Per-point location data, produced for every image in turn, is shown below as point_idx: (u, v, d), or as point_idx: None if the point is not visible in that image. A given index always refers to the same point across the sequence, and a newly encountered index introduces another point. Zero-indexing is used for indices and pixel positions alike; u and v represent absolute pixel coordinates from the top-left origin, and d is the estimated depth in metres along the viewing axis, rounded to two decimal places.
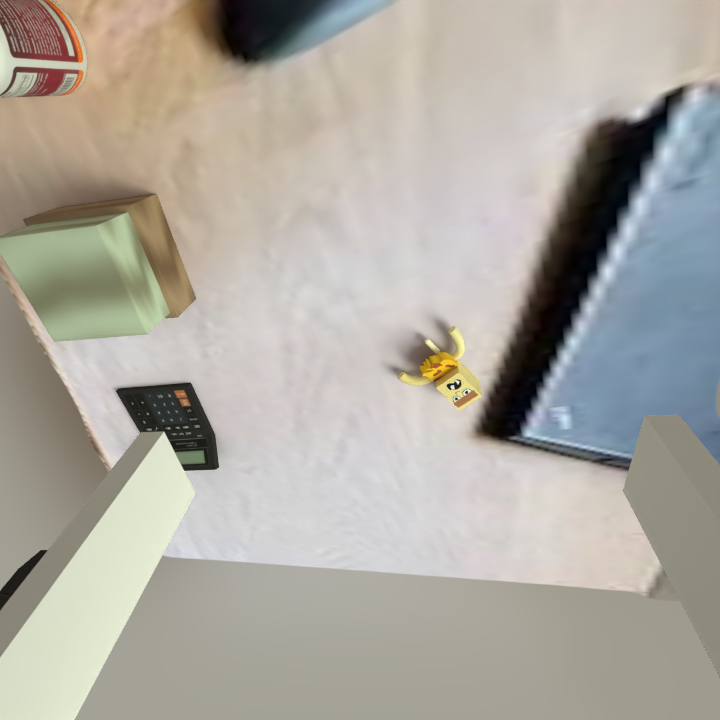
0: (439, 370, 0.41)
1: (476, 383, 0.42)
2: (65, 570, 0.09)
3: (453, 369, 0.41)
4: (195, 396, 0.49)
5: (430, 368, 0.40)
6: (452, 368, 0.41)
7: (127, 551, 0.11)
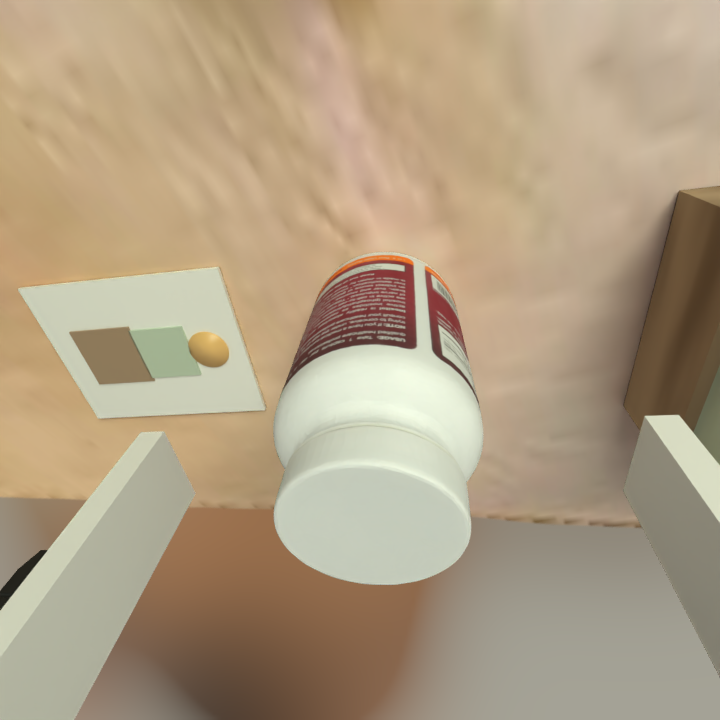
0: None
1: None
2: (65, 570, 0.09)
3: None
4: None
5: None
6: None
7: (127, 551, 0.11)
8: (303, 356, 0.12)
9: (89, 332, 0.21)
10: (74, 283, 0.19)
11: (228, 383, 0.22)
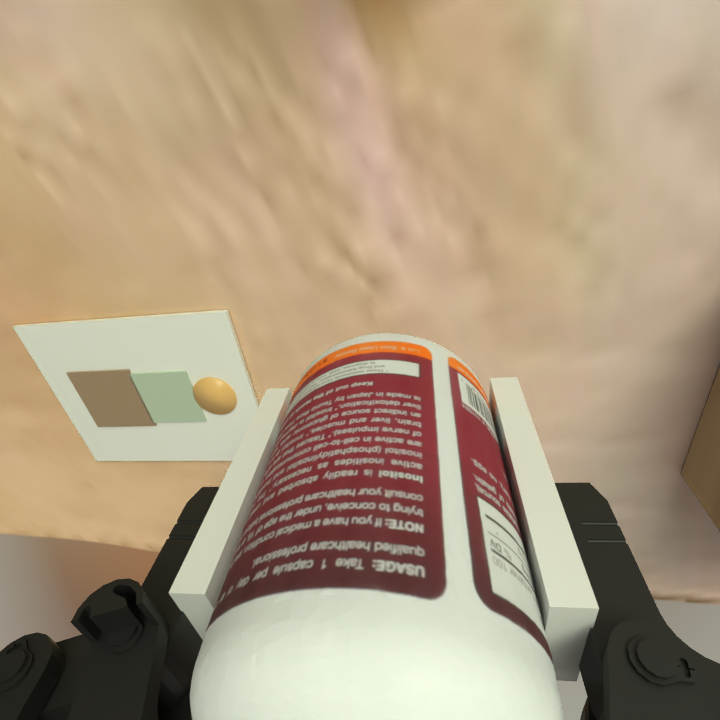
0: None
1: None
2: (246, 496, 0.10)
3: None
4: None
5: None
6: None
7: None
8: (245, 564, 0.07)
9: (87, 373, 0.19)
10: (72, 322, 0.18)
11: (235, 431, 0.20)
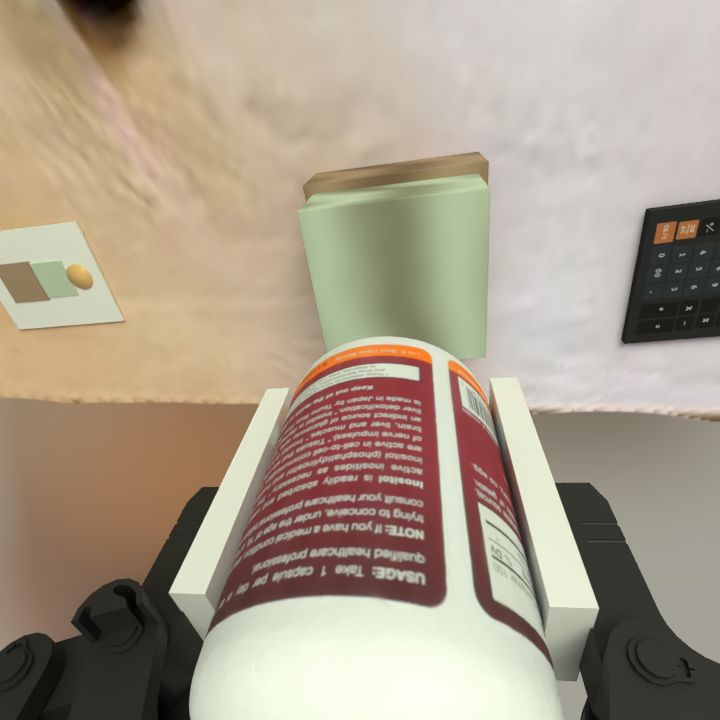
0: None
1: None
2: (246, 497, 0.10)
3: None
4: (680, 205, 0.25)
5: None
6: None
7: None
8: (245, 570, 0.07)
9: (5, 265, 0.33)
10: None
11: (96, 301, 0.34)
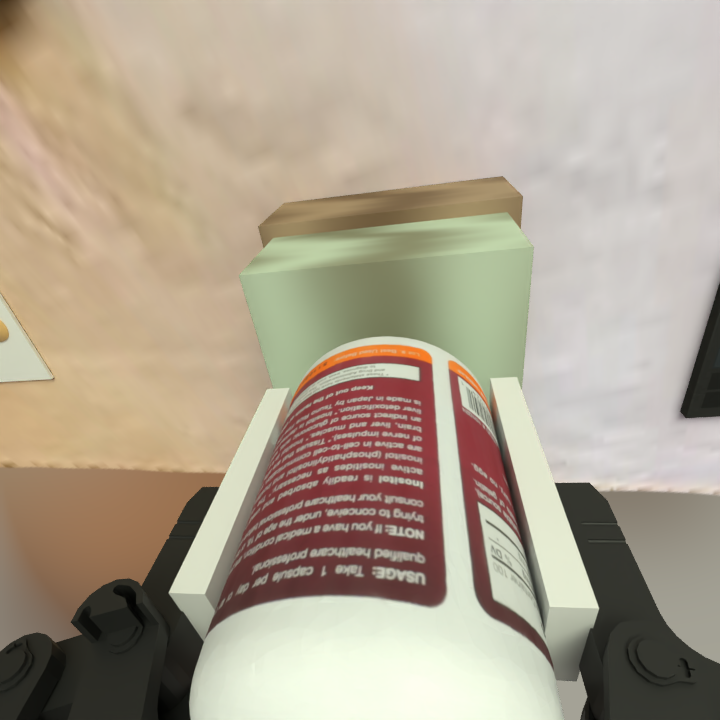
0: None
1: None
2: (246, 496, 0.10)
3: None
4: None
5: None
6: None
7: None
8: (245, 570, 0.07)
9: None
10: None
11: (16, 356, 0.27)
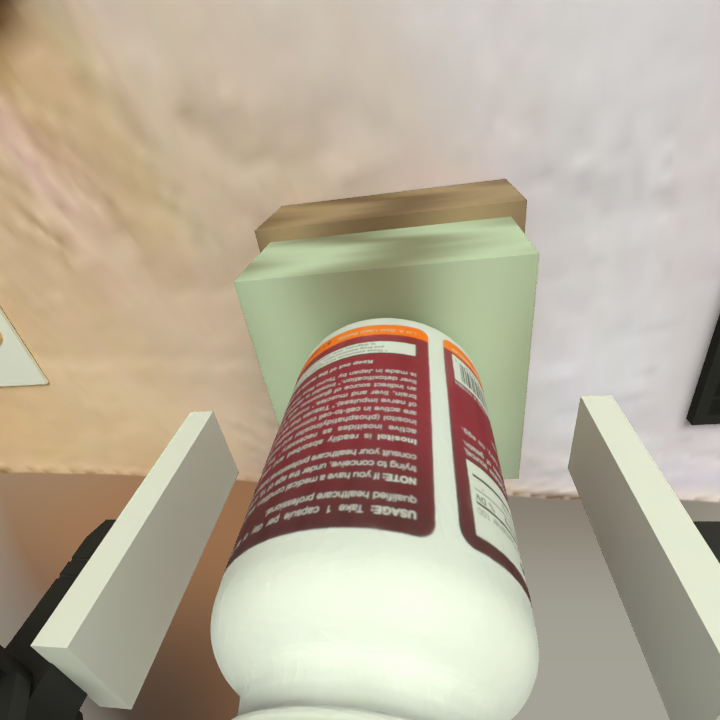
0: None
1: None
2: (138, 534, 0.09)
3: None
4: None
5: None
6: None
7: (186, 522, 0.11)
8: (259, 515, 0.08)
9: None
10: None
11: (10, 360, 0.26)
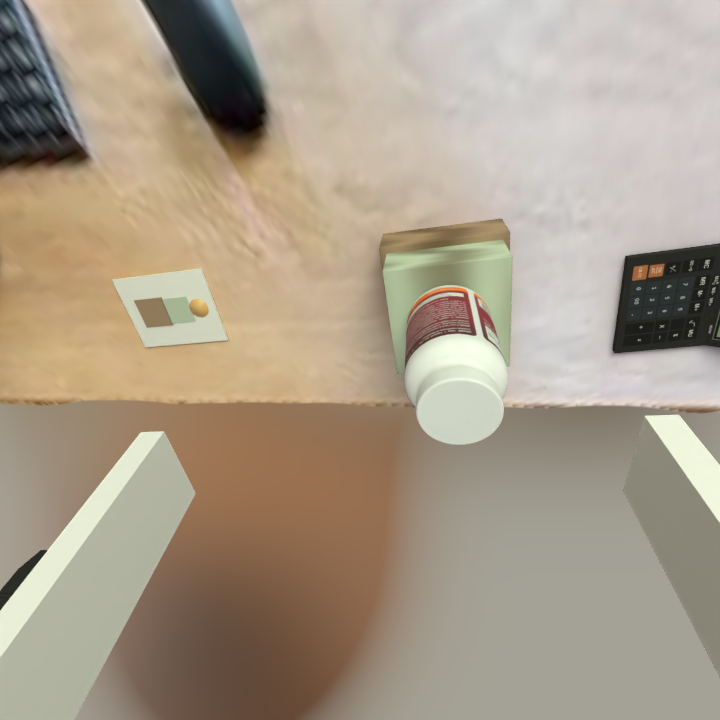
0: None
1: None
2: (65, 570, 0.09)
3: None
4: (650, 254, 0.35)
5: None
6: None
7: (127, 551, 0.11)
8: (419, 340, 0.25)
9: (143, 300, 0.43)
10: (137, 276, 0.42)
11: (209, 325, 0.44)
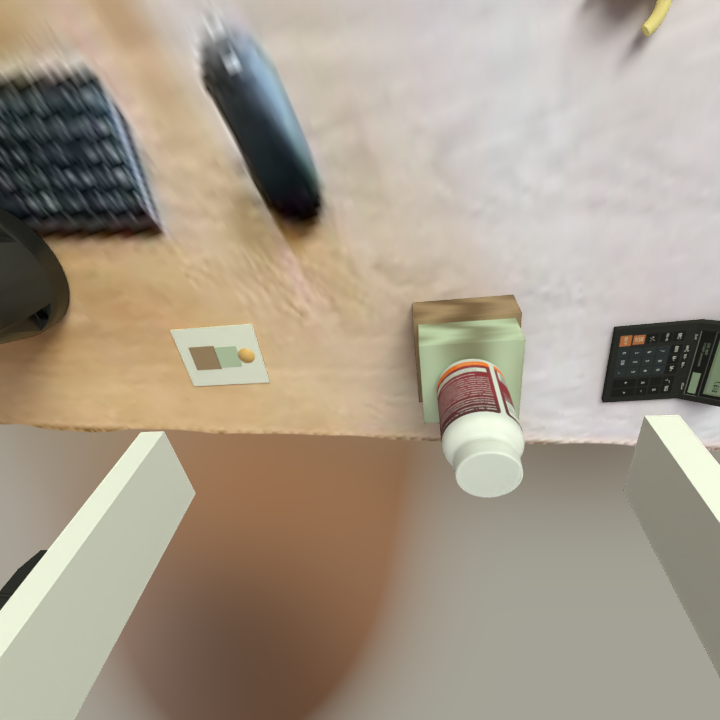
0: None
1: None
2: (65, 570, 0.09)
3: None
4: (634, 326, 0.42)
5: None
6: None
7: (127, 551, 0.11)
8: (455, 413, 0.32)
9: (197, 348, 0.50)
10: (194, 328, 0.48)
11: (253, 370, 0.50)
